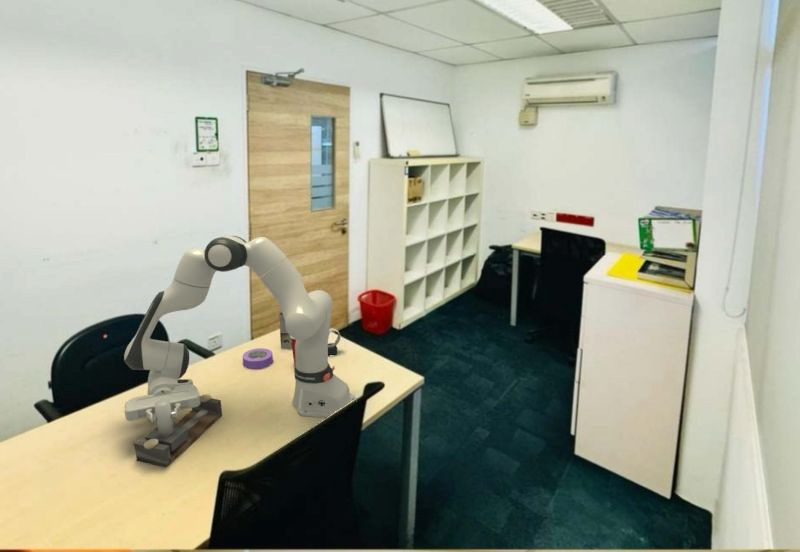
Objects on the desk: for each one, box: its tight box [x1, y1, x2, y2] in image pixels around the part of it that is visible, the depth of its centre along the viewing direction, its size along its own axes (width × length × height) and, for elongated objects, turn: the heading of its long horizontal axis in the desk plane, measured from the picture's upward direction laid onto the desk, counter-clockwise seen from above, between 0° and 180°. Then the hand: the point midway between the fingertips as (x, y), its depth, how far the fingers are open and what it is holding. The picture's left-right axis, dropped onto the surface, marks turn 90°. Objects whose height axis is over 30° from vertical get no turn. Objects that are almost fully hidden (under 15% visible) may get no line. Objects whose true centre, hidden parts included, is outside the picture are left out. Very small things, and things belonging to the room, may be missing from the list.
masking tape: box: [242, 347, 274, 370], centre depth 189 cm, size 12×12×4 cm
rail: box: [133, 394, 223, 469], centre depth 143 cm, size 28×10×7 cm, turn 166°
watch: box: [328, 327, 341, 357], centre depth 198 cm, size 6×8×11 cm
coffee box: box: [278, 311, 292, 350], centre depth 204 cm, size 9×6×16 cm
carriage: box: [144, 399, 189, 452], centre depth 135 cm, size 7×9×13 cm
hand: (164, 417), depth 134 cm, fingers closed on carriage, 4 cm apart
